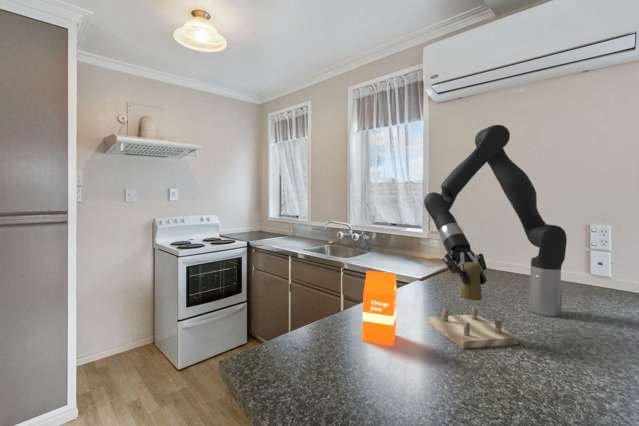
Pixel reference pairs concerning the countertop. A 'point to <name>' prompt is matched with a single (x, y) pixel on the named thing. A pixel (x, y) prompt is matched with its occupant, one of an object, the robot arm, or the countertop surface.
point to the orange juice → (379, 308)
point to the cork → (472, 282)
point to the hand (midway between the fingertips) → (476, 283)
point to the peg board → (472, 330)
